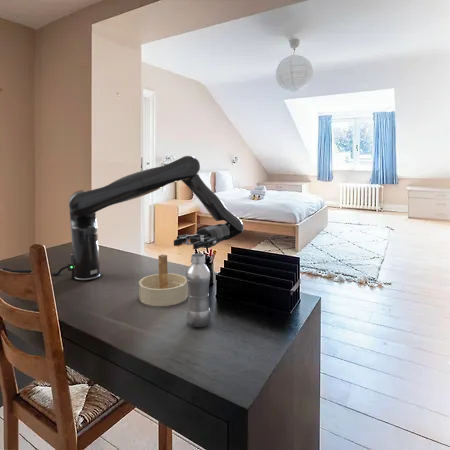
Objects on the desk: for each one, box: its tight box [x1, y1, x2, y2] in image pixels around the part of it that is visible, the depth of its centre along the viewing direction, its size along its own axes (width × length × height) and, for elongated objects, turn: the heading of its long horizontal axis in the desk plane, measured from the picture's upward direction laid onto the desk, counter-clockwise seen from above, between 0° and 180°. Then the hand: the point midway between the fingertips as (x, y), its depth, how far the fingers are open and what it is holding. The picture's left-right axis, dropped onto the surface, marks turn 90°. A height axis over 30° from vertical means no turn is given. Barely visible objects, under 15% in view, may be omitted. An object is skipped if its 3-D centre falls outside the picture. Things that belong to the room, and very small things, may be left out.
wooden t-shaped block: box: [158, 253, 169, 289], centre depth 115 cm, size 5×2×14 cm, turn 59°
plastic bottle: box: [185, 253, 212, 328], centre depth 96 cm, size 6×7×20 cm
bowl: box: [138, 272, 189, 307], centre depth 116 cm, size 16×16×6 cm
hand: (184, 244), depth 122 cm, fingers open, 8 cm apart
